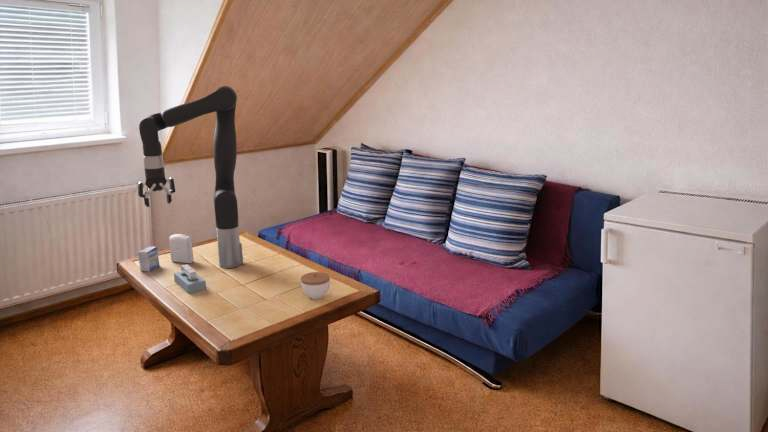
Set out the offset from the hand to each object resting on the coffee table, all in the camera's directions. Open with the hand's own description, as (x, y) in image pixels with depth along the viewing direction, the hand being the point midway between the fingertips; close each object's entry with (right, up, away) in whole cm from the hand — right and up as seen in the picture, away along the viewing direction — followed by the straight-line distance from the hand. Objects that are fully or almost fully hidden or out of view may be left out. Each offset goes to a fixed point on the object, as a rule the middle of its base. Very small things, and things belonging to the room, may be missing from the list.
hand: (158, 204), depth 259 cm
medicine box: (-7, -27, +9) cm, 29 cm away
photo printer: (+5, -25, +17) cm, 30 cm away
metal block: (+16, -32, -10) cm, 37 cm away
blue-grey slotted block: (+16, -32, -10) cm, 37 cm away
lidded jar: (+67, -35, -22) cm, 79 cm away
